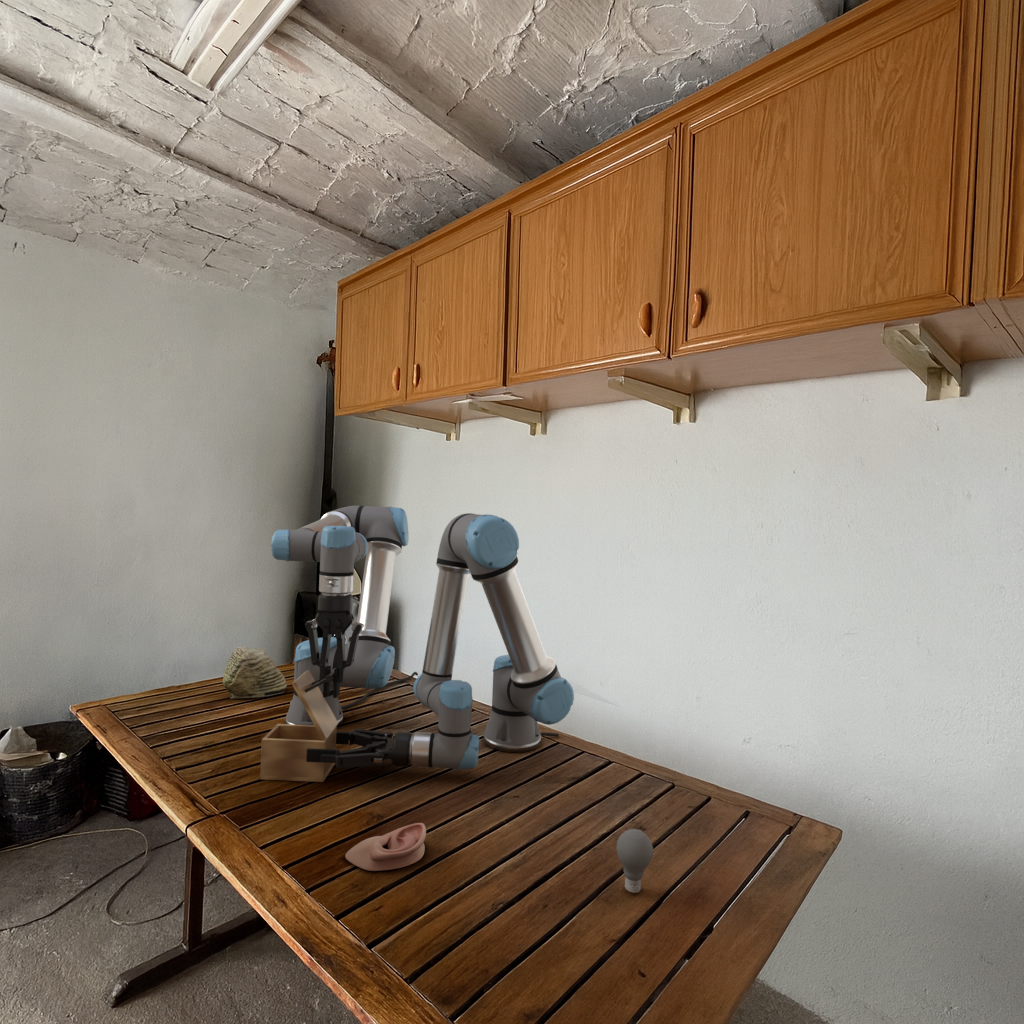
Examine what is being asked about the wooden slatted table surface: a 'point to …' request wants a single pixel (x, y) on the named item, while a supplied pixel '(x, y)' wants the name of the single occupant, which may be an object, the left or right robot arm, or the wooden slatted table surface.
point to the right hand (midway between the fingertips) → (314, 745)
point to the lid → (316, 702)
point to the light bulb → (634, 857)
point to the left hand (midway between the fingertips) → (331, 695)
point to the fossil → (252, 674)
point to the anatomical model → (390, 849)
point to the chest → (294, 753)
